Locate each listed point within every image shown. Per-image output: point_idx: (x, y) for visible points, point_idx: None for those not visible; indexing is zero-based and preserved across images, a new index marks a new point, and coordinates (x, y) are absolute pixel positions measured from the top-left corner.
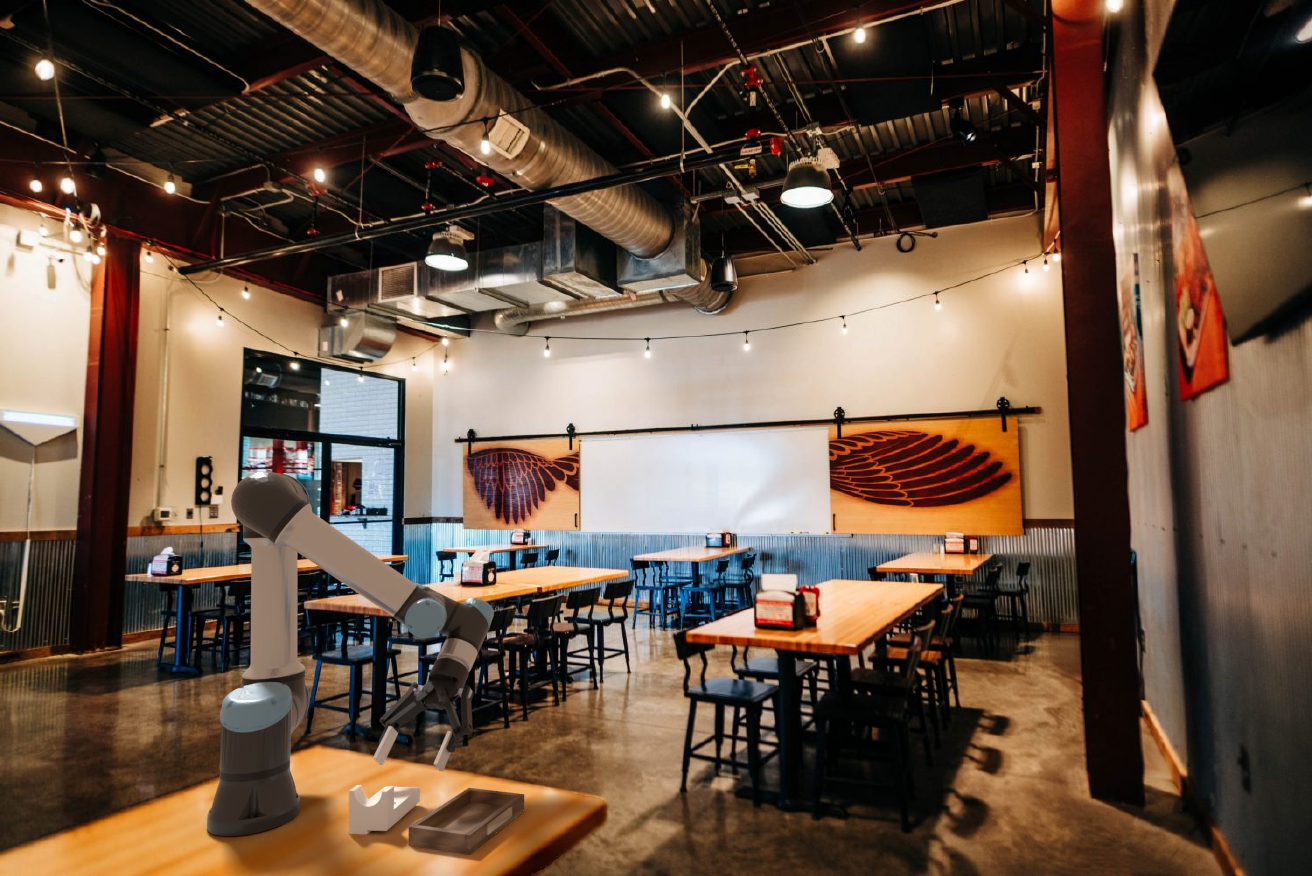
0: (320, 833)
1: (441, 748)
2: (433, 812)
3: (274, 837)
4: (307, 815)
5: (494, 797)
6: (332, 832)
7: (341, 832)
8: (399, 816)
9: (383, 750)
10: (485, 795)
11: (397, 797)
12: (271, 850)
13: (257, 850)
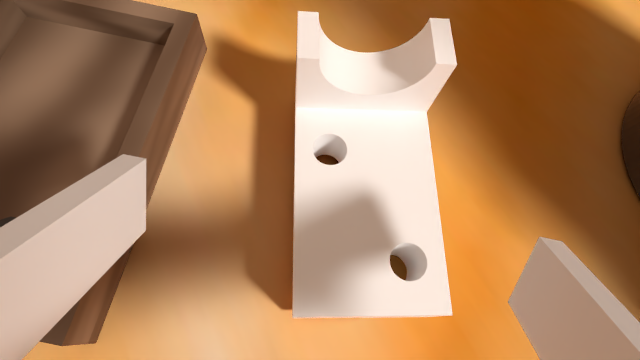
0: (481, 102)
1: (74, 196)
2: (150, 101)
3: (578, 79)
4: (613, 208)
5: None
6: (454, 109)
7: (430, 109)
8: (294, 159)
9: (558, 301)
10: None
11: (335, 203)
12: (527, 24)
13: (558, 23)
